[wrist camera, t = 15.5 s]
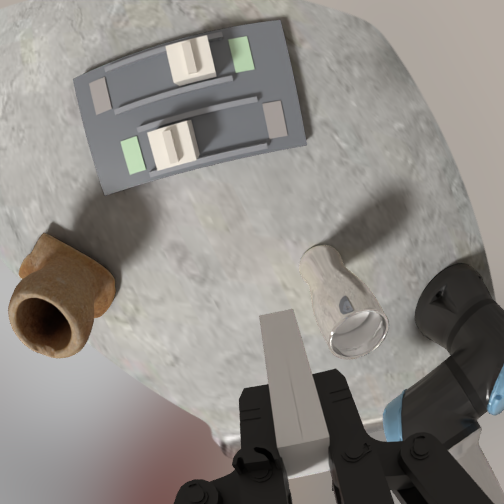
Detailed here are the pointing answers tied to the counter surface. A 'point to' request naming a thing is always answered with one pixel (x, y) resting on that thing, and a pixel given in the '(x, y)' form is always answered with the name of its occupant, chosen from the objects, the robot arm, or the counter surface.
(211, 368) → the counter surface
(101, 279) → the clay platform pipe
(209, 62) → the tab
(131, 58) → the switch board
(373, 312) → the beer glass
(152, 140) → the tab
